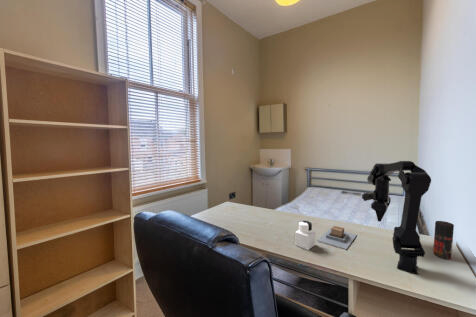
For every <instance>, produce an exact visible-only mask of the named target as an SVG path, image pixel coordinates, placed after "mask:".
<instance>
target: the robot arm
mask: <svg viewBox="0 0 476 317" xmlns="http://www.w3.org/2000/svg"><path fill="white" fill-rule="evenodd" d="M406 171H407V172H406ZM408 171H409V172H408ZM396 172H398V174H397V177H398V179H399V180H400V181H401V187H402V190H403V191H404V194H405V196H404V201H403V207H402V216H401V220H400V225H399V226H395V227H394V229H393V234H392V244H393V246H392V247H393V251H394V253H395V254H397V255H399V256H398V261H397V266H396V268H397V269H399V270H402V271H404V272H407V273H410V274H414V275H419V265H418V258H419V257H420V258H424V257H425V255H426V252H425V250H424V247H423V245H422V243H421V240H420V239H421V236H420V235H419V233H418V231H417V225H418V221H419V214H420V208H421V201H422V197H423V196H424V195H425V194H426V193H427V192H428V191H429V189H430V186H431V184H432V177H431V176H430V175H429V174H428V172H427V171H426V170H425V169H424V168H421V167H420V166H418V165H416V163H414V162H413V161H411V160H399V161H396V162H391V163H384V162H383V163H375V164H374V165H373V166H372V169H371V171H370V173H369V175H368V176H367V178H366V179H367V182H368V183H369V184H371V185H373V186H375V188H374V190H373V191H369V192H364V193H363V194H361V198H362V199H363V202H367V201H371V200H372V202H371V203H370V208H371V209H372V210H373V211H374V212H375V214H376V220H377V222H381V221H382V220H383V218H384V216H385V214H386V212H387V211H388V208H389V206H390V204H391V201H392V200H391V197H390V194H389V193H390V182H391V181H392V179H391V177H390V176H391V175H393V174H394V173H396Z"/></svg>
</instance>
